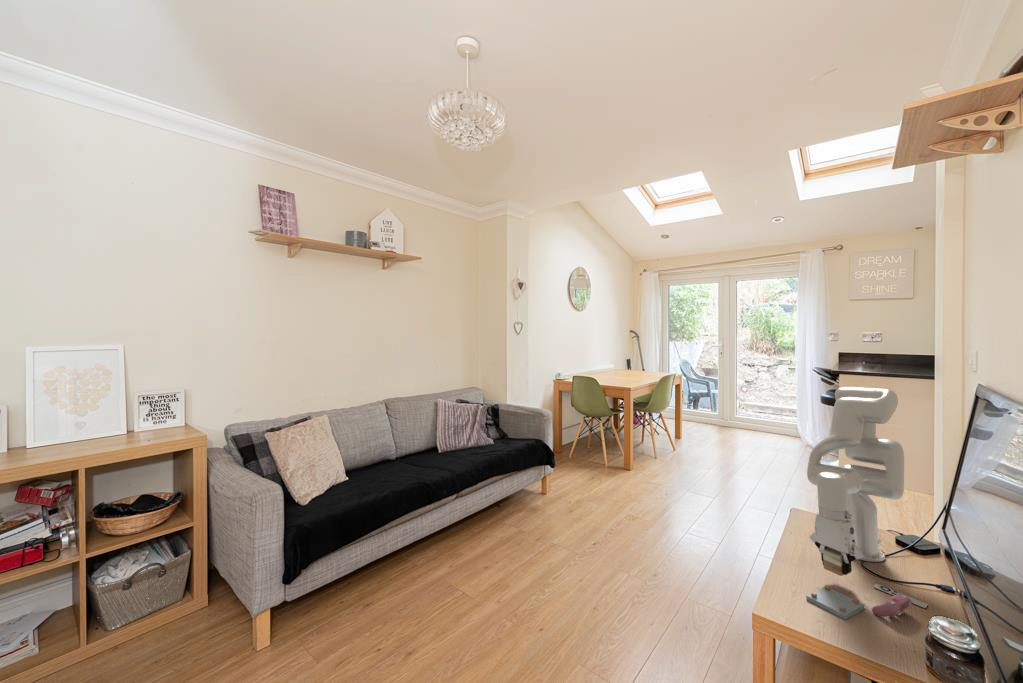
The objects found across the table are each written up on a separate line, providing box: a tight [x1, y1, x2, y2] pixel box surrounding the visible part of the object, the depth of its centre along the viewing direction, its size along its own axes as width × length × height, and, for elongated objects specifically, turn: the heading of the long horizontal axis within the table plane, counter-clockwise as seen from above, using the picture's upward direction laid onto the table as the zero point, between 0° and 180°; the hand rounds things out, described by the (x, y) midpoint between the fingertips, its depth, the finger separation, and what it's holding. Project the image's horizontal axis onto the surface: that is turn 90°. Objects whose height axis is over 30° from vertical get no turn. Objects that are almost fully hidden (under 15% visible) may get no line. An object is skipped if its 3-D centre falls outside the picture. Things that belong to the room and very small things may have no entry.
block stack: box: [822, 547, 845, 577], centre depth 128 cm, size 5×5×6 cm
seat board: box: [805, 585, 866, 620], centre depth 118 cm, size 10×10×2 cm
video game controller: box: [871, 593, 913, 619], centre depth 113 cm, size 10×5×7 cm, turn 114°
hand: (836, 568), depth 128 cm, fingers closed on block stack, 4 cm apart
